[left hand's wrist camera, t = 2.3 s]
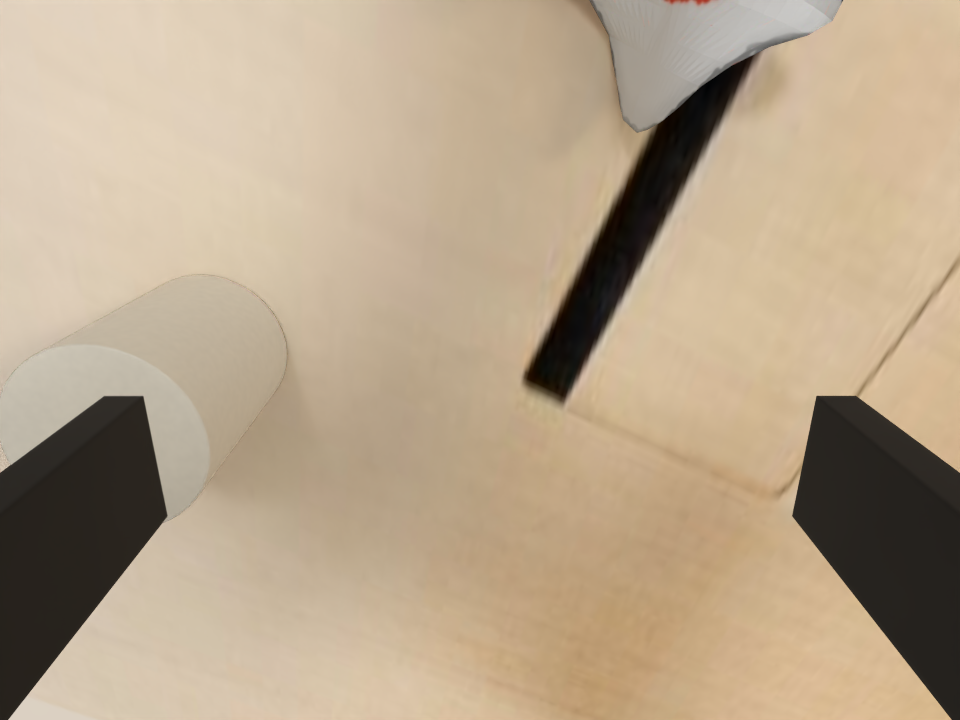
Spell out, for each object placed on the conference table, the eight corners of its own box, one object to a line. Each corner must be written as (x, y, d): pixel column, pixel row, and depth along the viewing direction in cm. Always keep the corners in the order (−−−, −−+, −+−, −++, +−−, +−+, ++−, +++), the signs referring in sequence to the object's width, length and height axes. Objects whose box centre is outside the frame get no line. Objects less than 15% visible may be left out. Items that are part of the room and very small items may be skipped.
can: (236, 440, 33) (145, 563, 24) (109, 356, 31) (-40, 455, 22) (316, 338, 31) (249, 430, 22) (184, 242, 29) (54, 300, 20)
